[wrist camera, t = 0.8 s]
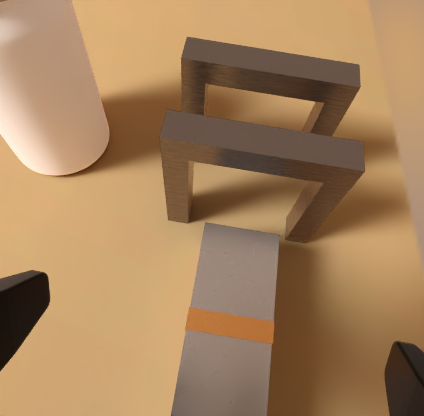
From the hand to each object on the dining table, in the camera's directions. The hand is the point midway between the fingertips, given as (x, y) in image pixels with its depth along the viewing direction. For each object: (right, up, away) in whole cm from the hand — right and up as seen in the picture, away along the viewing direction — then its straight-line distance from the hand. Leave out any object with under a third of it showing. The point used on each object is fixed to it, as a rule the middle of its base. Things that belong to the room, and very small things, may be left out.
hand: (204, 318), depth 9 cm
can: (-10, +8, +16) cm, 21 cm away
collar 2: (+2, +2, +14) cm, 15 cm away
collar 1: (+3, +6, +17) cm, 18 cm away
